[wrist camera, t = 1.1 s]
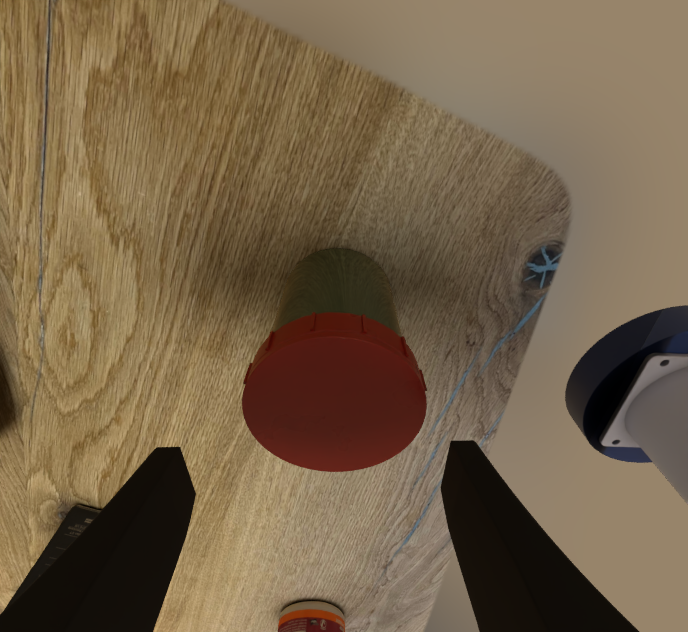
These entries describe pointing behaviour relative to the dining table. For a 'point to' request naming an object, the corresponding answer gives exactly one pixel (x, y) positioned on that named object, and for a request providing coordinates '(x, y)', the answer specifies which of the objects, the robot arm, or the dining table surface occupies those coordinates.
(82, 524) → the box
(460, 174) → the dining table surface
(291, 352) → the jar lid
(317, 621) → the pill bottle
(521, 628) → the robot arm
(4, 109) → the dining table surface
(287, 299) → the jam jar
